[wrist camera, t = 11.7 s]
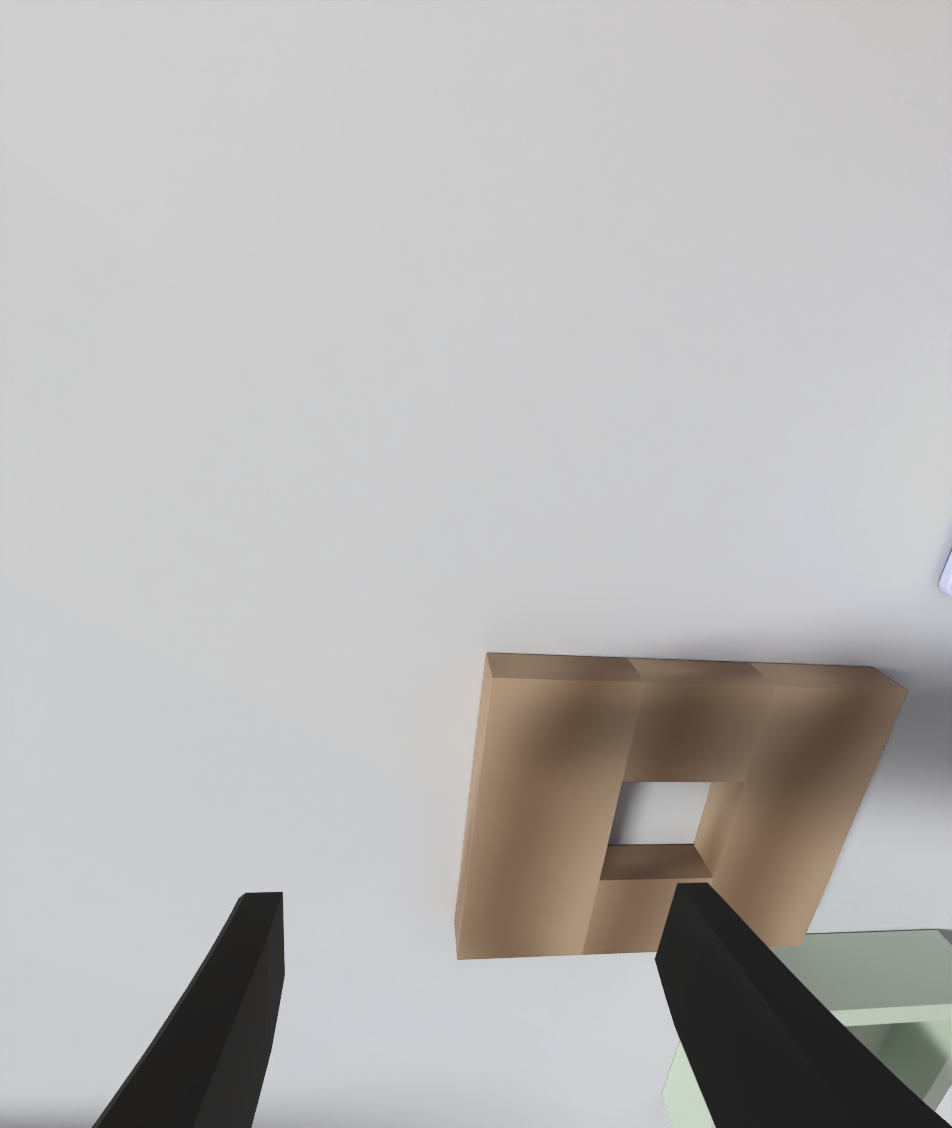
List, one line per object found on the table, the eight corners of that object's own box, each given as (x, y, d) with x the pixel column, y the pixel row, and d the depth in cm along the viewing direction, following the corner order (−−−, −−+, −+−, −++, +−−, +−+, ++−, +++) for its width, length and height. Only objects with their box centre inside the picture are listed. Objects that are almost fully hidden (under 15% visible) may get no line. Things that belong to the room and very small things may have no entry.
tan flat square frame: (872, 666, 19) (907, 690, 18) (777, 911, 23) (800, 945, 22) (486, 653, 17) (492, 677, 16) (454, 921, 21) (457, 959, 20)
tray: (937, 929, 25) (1003, 1000, 22) (858, 1079, 29) (906, 1156, 26) (715, 937, 23) (755, 1015, 21) (661, 1094, 27) (690, 1178, 24)
